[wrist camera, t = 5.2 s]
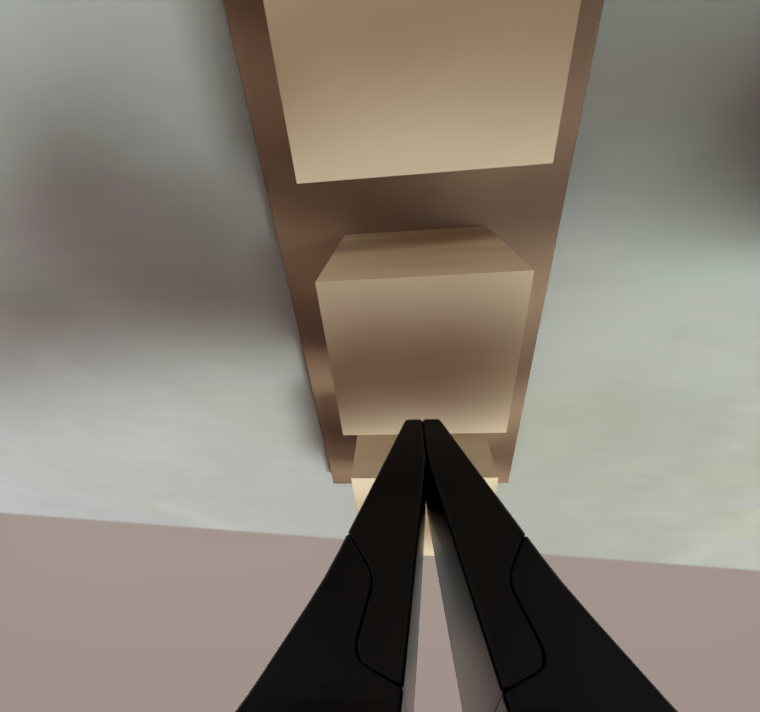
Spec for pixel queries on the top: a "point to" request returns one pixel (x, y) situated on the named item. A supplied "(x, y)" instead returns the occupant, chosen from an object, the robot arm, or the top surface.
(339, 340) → the plain block
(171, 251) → the top surface
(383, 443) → the block four
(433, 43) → the block seven
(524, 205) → the walnut mat
